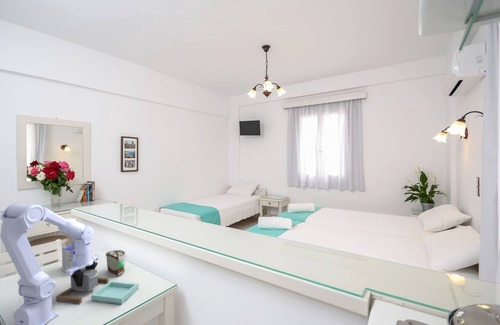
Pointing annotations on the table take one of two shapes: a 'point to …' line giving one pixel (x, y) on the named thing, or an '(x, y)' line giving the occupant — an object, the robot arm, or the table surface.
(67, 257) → the ink cartridge box
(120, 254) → the food container
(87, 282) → the gray box with handle
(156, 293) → the table surface
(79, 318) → the table surface
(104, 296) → the tray
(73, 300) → the frame
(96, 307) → the table surface
